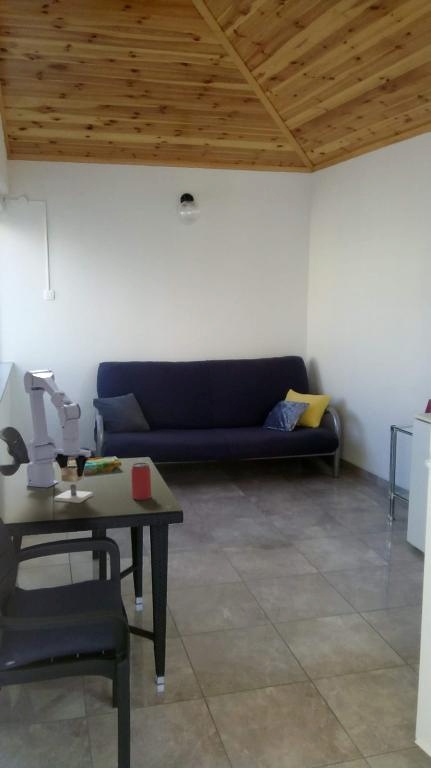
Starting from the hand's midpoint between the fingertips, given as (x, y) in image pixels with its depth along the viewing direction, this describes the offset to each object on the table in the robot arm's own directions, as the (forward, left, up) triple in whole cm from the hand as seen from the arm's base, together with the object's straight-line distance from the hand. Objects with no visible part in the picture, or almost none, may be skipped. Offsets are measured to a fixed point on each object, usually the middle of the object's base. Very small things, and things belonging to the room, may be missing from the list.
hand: (72, 475), depth 236 cm
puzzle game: (-12, +37, -9) cm, 40 cm away
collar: (0, 0, -1) cm, 1 cm away
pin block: (0, 0, -8) cm, 8 cm away
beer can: (+23, +7, -8) cm, 26 cm away
